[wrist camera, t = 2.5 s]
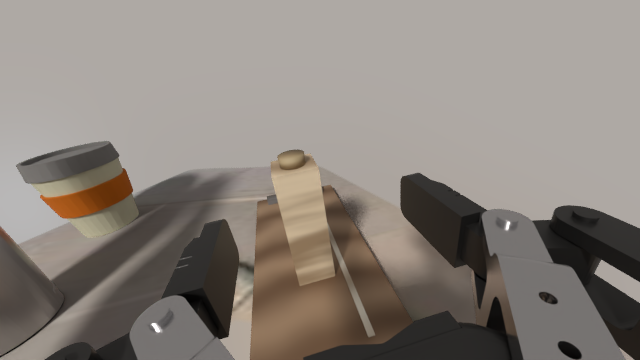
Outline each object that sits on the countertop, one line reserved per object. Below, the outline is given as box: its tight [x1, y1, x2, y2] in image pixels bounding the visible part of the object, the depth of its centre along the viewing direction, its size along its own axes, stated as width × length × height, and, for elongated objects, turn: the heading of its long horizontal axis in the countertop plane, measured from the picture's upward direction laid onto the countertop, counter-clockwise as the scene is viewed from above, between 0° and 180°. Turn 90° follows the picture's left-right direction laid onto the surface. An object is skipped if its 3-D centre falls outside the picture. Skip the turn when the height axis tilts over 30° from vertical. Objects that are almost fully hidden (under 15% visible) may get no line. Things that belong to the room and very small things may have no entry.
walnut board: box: [250, 185, 413, 360], centre depth 31 cm, size 30×14×2 cm, turn 12°
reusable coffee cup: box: [16, 141, 139, 238], centre depth 44 cm, size 13×13×15 cm
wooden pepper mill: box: [271, 150, 335, 286], centre depth 24 cm, size 4×4×14 cm
